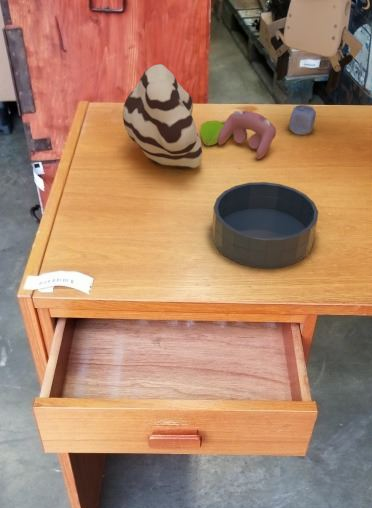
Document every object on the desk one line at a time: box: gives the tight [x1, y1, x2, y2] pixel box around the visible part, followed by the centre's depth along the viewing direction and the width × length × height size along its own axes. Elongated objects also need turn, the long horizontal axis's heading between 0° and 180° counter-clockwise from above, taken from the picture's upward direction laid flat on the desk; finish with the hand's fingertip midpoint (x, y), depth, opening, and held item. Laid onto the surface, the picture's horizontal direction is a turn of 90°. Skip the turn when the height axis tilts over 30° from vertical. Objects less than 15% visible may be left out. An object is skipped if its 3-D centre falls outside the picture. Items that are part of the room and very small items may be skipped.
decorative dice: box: [288, 104, 317, 136], centre depth 113 cm, size 4×4×4 cm
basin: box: [212, 181, 319, 270], centre depth 89 cm, size 15×15×5 cm
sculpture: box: [122, 63, 203, 171], centre depth 101 cm, size 22×12×15 cm, turn 14°
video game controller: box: [217, 110, 277, 160], centre depth 108 cm, size 10×5×7 cm, turn 56°
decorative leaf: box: [200, 120, 234, 147], centre depth 112 cm, size 8×9×1 cm
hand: (305, 84), depth 108 cm, fingers open, 9 cm apart
